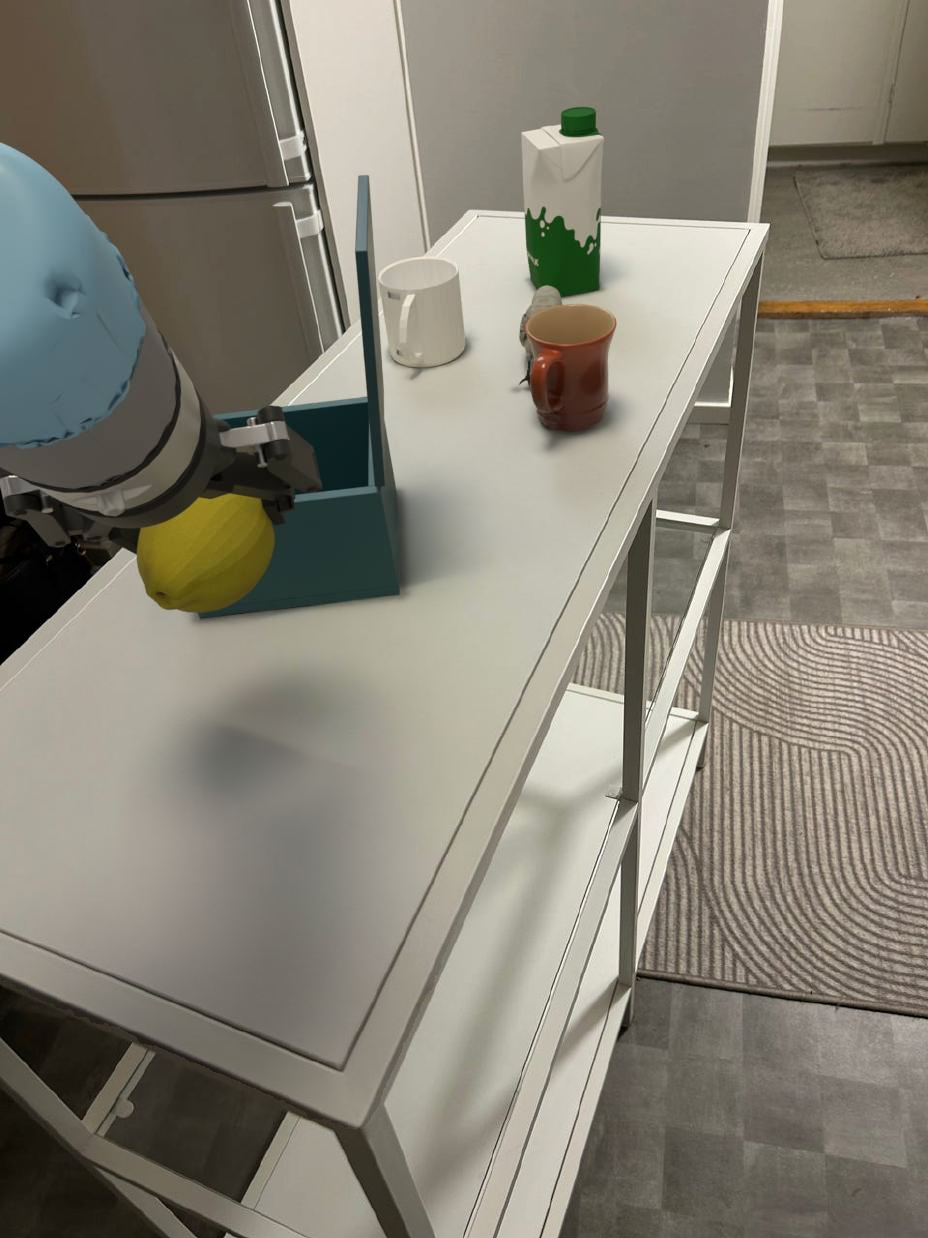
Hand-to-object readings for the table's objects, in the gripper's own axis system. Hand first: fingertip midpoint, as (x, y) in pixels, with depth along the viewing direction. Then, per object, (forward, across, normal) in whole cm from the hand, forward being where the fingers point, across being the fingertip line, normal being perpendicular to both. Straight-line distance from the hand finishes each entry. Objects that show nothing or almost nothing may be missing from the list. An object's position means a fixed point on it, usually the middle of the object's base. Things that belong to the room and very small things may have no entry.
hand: (207, 518), depth 60 cm
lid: (+7, +14, +13) cm, 20 cm away
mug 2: (+30, +33, +8) cm, 46 cm away
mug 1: (+45, +22, +23) cm, 55 cm away
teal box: (+22, +5, 0) cm, 23 cm away
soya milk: (+54, +44, +31) cm, 76 cm away
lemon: (0, 0, -5) cm, 5 cm away
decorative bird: (+41, +36, +18) cm, 57 cm away
